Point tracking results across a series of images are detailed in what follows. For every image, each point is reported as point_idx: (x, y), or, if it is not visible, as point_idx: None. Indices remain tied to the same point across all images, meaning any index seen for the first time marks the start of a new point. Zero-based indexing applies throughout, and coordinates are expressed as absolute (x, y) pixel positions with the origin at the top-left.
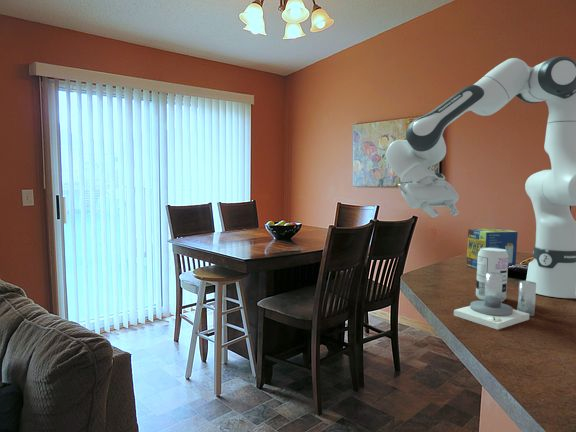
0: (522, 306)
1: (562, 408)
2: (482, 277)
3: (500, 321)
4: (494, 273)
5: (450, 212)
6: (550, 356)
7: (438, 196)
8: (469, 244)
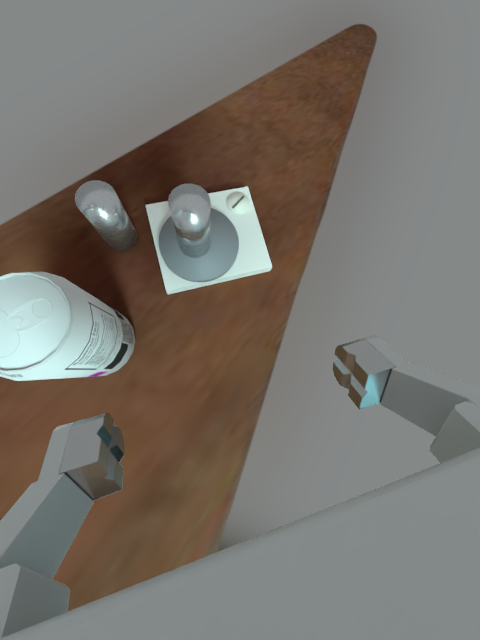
0: (132, 224)
1: (342, 37)
2: (117, 328)
3: (235, 192)
4: (183, 206)
5: (118, 473)
6: (253, 105)
7: (309, 612)
8: None
